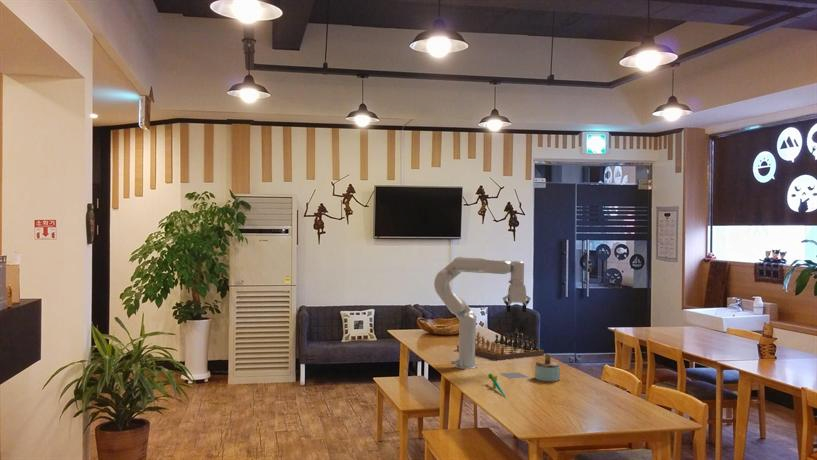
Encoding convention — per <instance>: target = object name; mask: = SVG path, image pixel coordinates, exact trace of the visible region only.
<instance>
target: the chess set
mask: <svg viewBox="0 0 817 460" xmlns="http://www.w3.org/2000/svg"><path fill="white" fill-rule="evenodd" d="M499 334H500V338H499ZM499 334H495V340H494V341H491V340H490V339H486V337H485V336H484V335H480V332H477V334H476V336H475V356H479V357H481V358H485V357H486V359H489V358H490V359H489V360H493V359H494V360H493V361H498V360H499V361H506V359H508V360H515V359H514V358H516V359H524V357H525V358H530V357H531V358H533V357H540V356H541V357H542V356H545V350H544V349H540V348H539V346H538V343H539V340H538V339H534V338H533V337H530V339H529V337H528V335H525V337H524V334H523V332H522V331H521V332H520V333H519V331H518V328H516V329H515V330H514V332H510V334H509V332H506V333H504V332H500V333H499ZM485 339H486V340H485ZM518 339H519V340H518ZM523 339H524V341H523ZM456 350H457V351H459V344H457V347H456Z"/></svg>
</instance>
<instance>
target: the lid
mask: <svg viewBox="0 0 817 460" xmlns="http://www.w3.org/2000/svg"><path fill="white" fill-rule="evenodd" d="M551 355H552V354H551V353H544V360H540V361H539V360H538V361H536V362H535V364H536V365H537V366H540V367H548V368H555V367H559V365H560V363H559V362H555V361H551Z"/></svg>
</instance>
